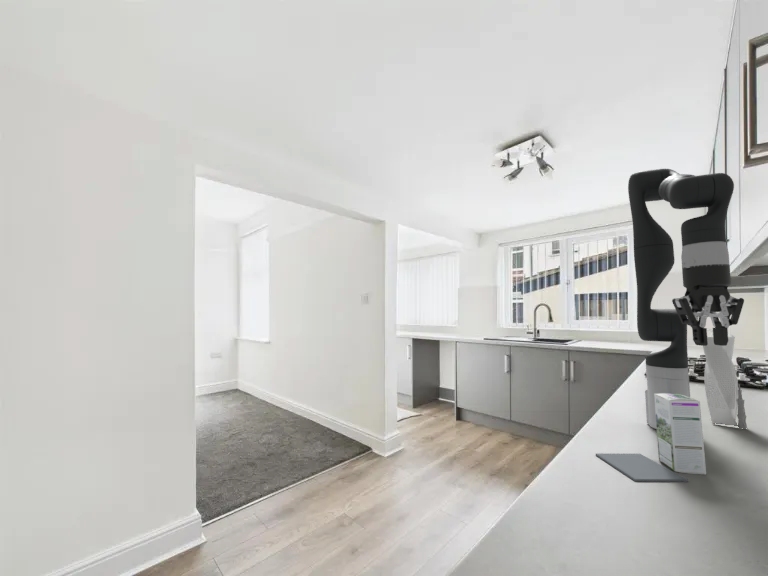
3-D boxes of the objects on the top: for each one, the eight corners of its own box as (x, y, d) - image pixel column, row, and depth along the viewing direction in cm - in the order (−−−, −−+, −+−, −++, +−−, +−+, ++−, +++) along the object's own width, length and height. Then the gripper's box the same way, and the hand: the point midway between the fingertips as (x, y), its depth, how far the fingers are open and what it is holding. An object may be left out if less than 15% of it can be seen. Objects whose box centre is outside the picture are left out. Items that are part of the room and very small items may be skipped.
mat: (595, 455, 76) (595, 453, 76) (640, 455, 76) (640, 453, 76) (635, 481, 64) (635, 479, 64) (687, 481, 64) (687, 479, 64)
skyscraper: (706, 425, 99) (699, 328, 101) (702, 418, 105) (696, 327, 107) (748, 431, 94) (740, 329, 96) (741, 423, 100) (734, 328, 102)
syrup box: (707, 475, 67) (702, 400, 68) (673, 472, 68) (668, 398, 69) (688, 463, 73) (683, 393, 74) (656, 460, 74) (652, 392, 75)
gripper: (720, 267, 78) (726, 344, 76) (658, 267, 77) (663, 343, 76) (756, 262, 70) (763, 347, 69) (687, 262, 70) (693, 346, 69)
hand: (710, 344), depth 72 cm, fingers open, 3 cm apart
